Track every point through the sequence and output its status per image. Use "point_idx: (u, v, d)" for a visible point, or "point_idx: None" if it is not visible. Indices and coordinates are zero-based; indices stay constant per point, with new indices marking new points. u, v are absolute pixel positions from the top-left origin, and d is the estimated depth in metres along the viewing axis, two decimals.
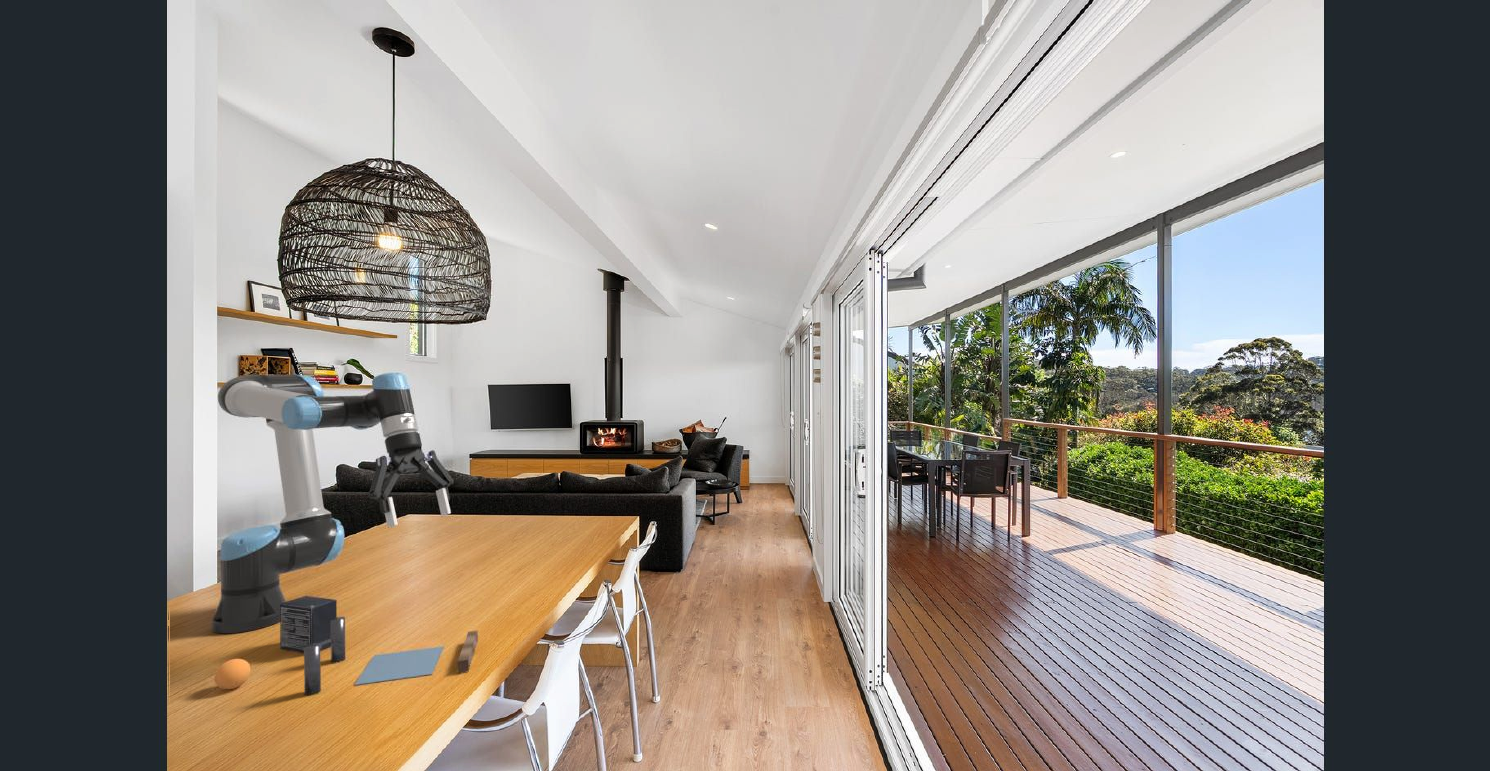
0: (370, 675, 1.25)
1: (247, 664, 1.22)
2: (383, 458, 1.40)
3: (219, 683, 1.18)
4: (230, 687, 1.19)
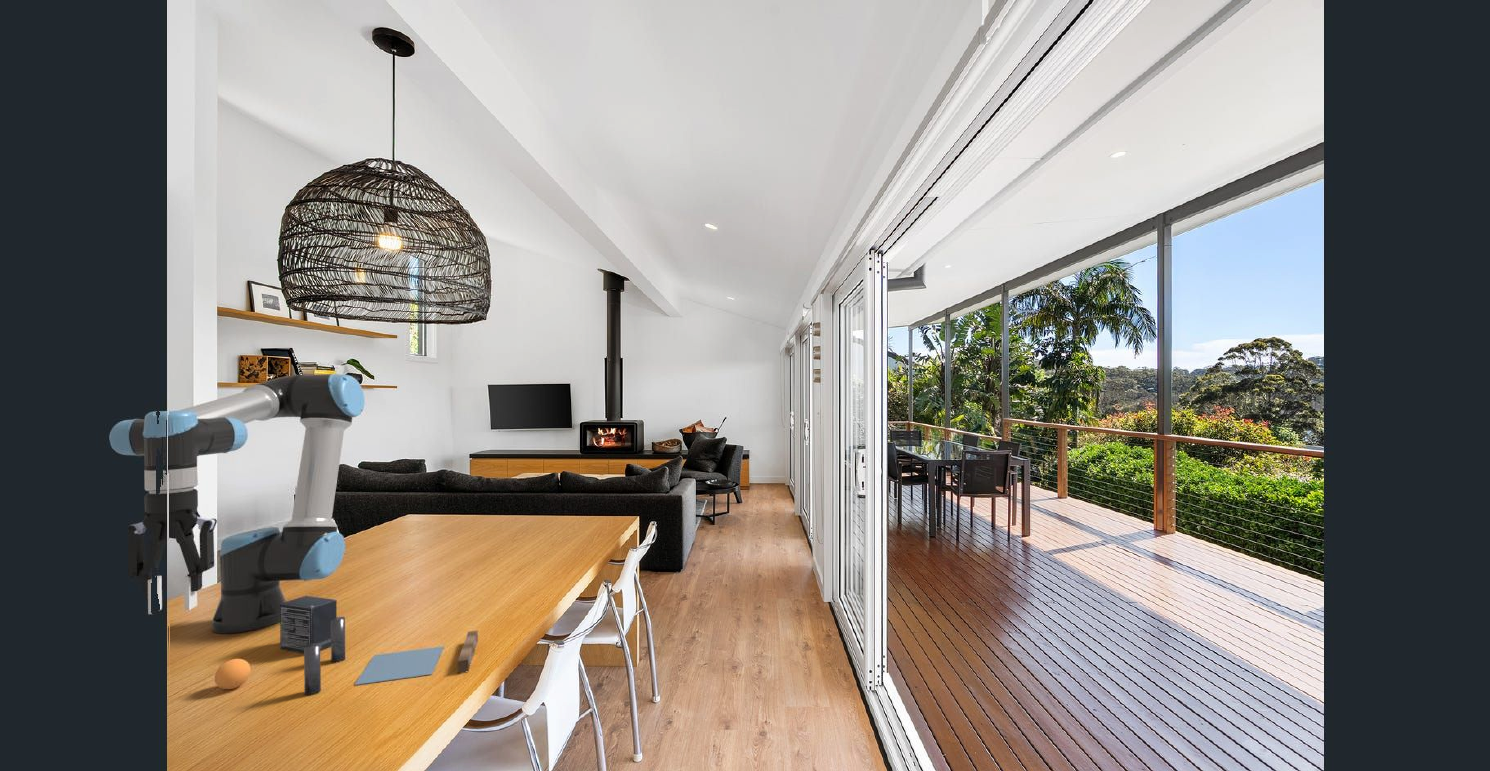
0: (370, 675, 1.25)
1: (247, 664, 1.22)
2: (127, 530, 1.15)
3: (219, 683, 1.18)
4: (230, 687, 1.19)
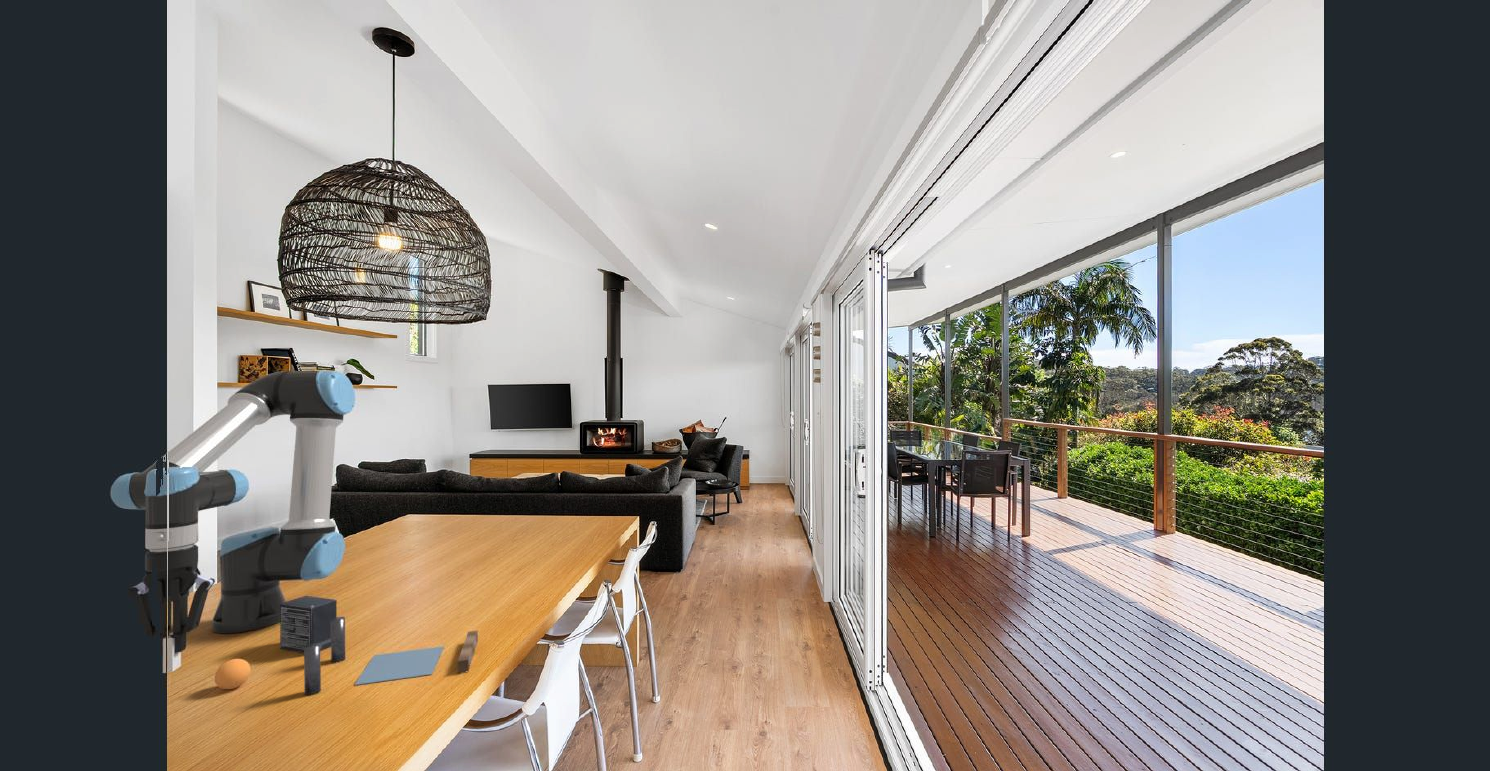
0: (370, 675, 1.25)
1: (247, 664, 1.22)
2: (130, 592, 1.15)
3: (219, 683, 1.18)
4: (230, 687, 1.19)
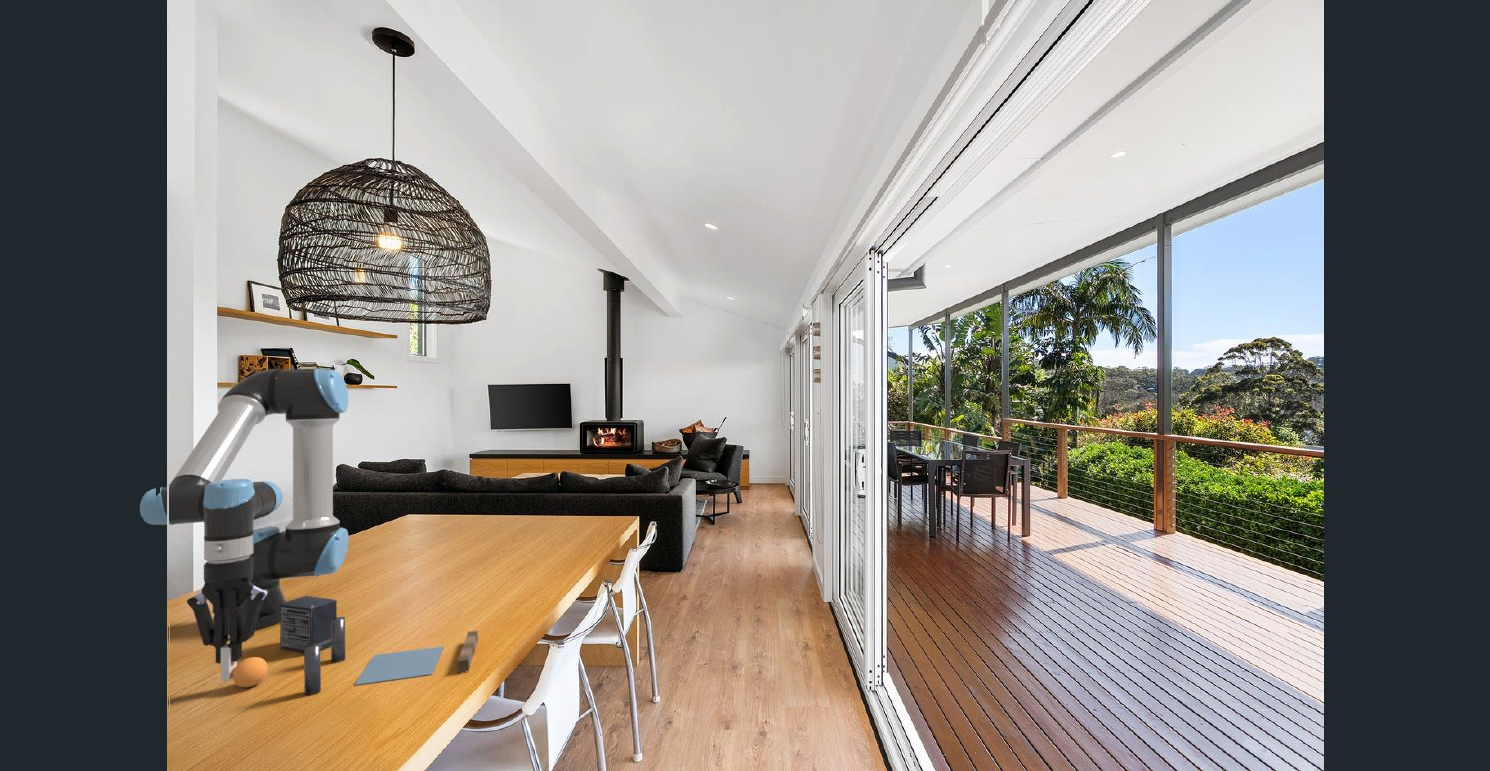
0: (370, 675, 1.25)
1: (267, 670, 1.22)
2: (189, 602, 1.17)
3: (236, 677, 1.19)
4: (240, 686, 1.19)
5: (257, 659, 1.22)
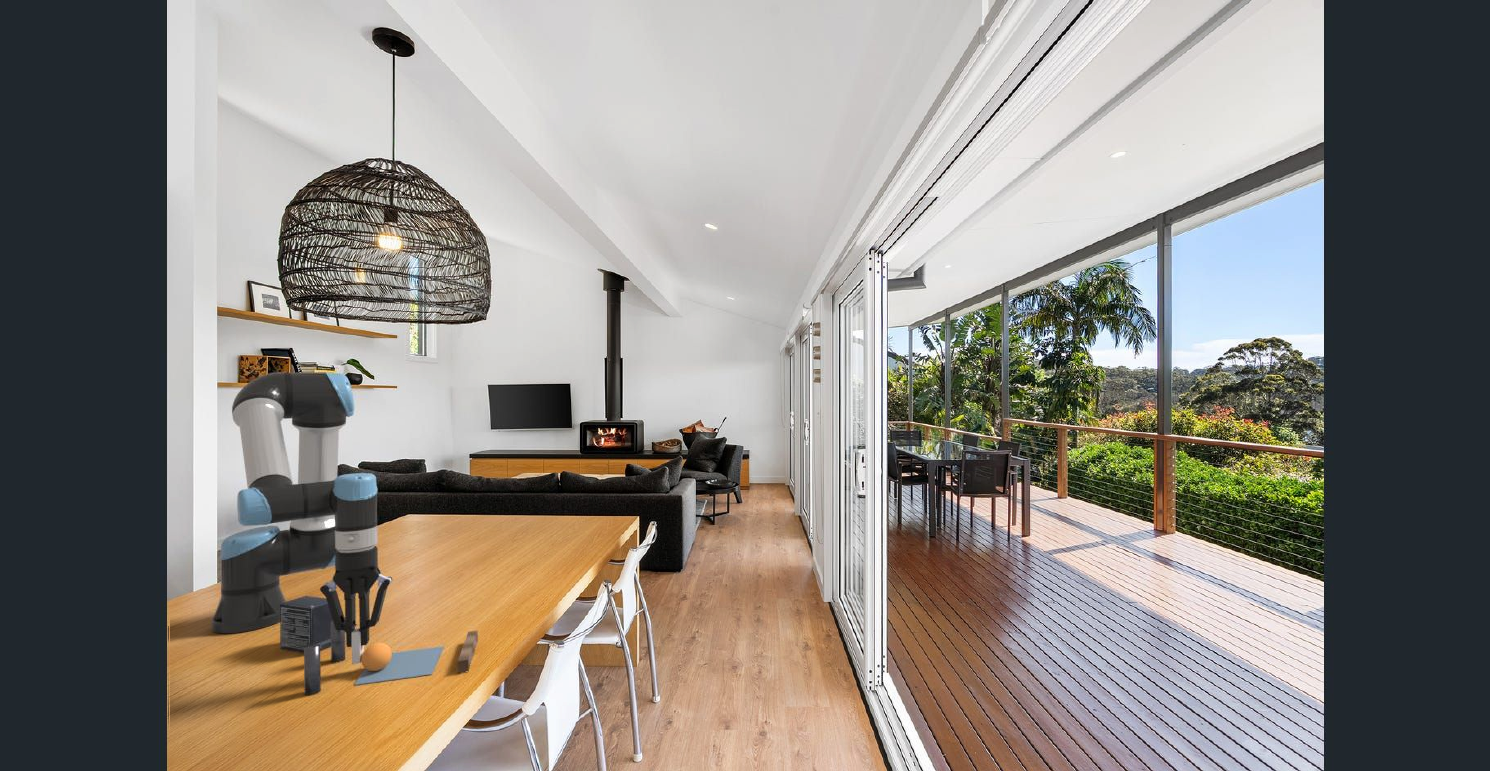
0: (370, 675, 1.25)
1: None
2: (322, 590, 1.24)
3: (366, 663, 1.25)
4: (373, 670, 1.26)
5: (378, 643, 1.28)
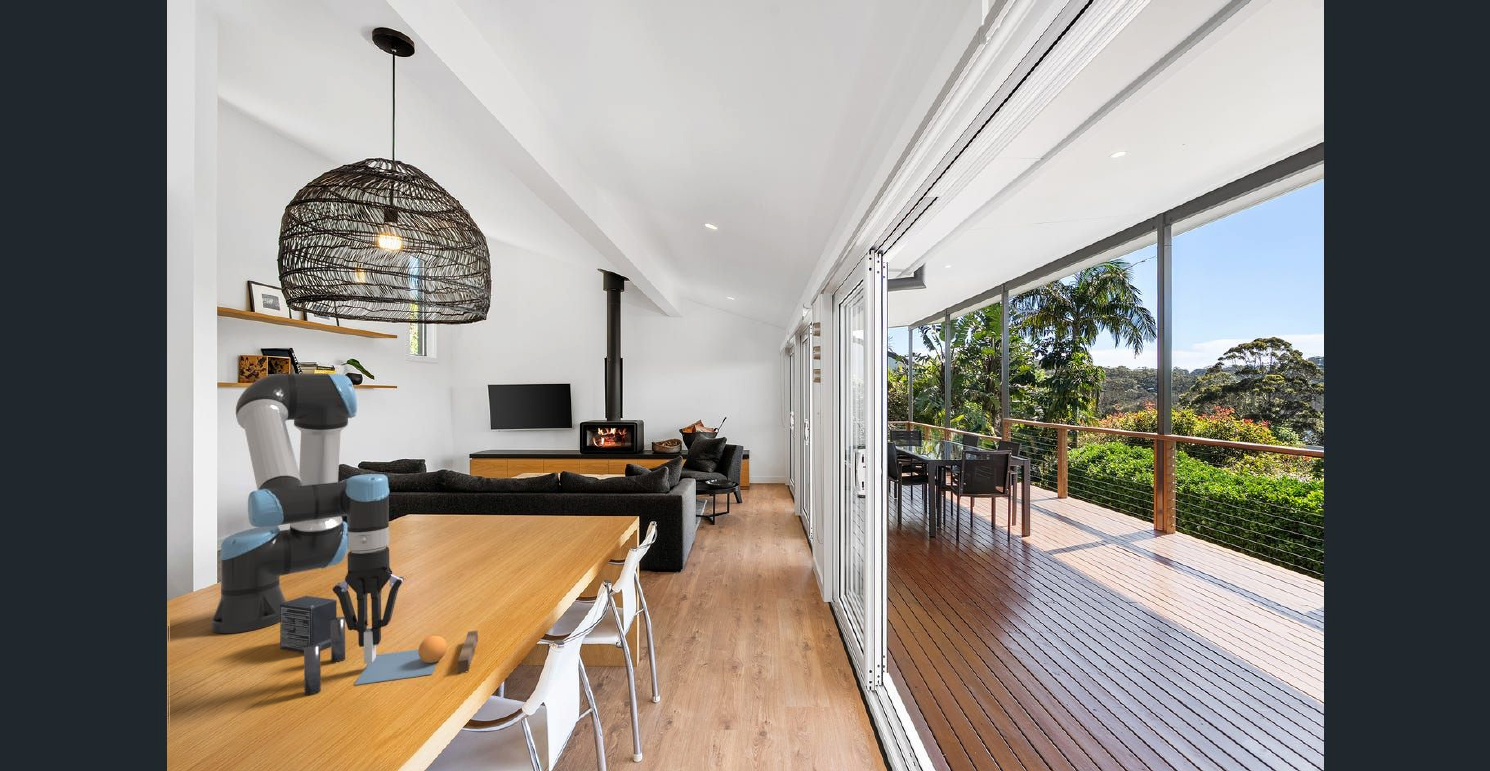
0: (370, 675, 1.25)
1: (421, 643, 1.31)
2: (335, 590, 1.25)
3: (436, 656, 1.29)
4: (438, 645, 1.29)
5: None
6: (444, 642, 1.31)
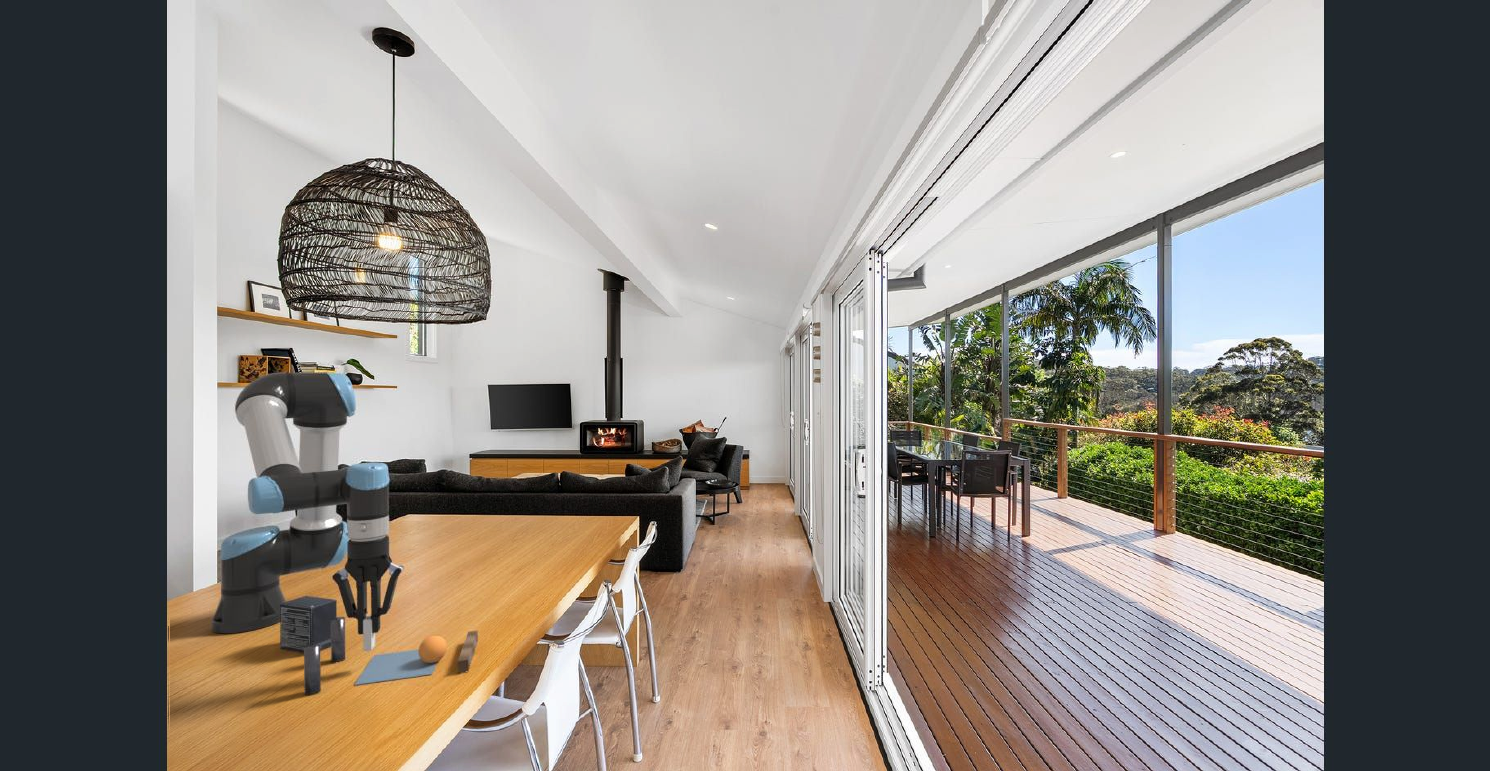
0: (370, 675, 1.25)
1: (421, 643, 1.31)
2: (334, 578, 1.25)
3: (436, 656, 1.29)
4: (438, 645, 1.29)
5: None
6: (444, 642, 1.31)
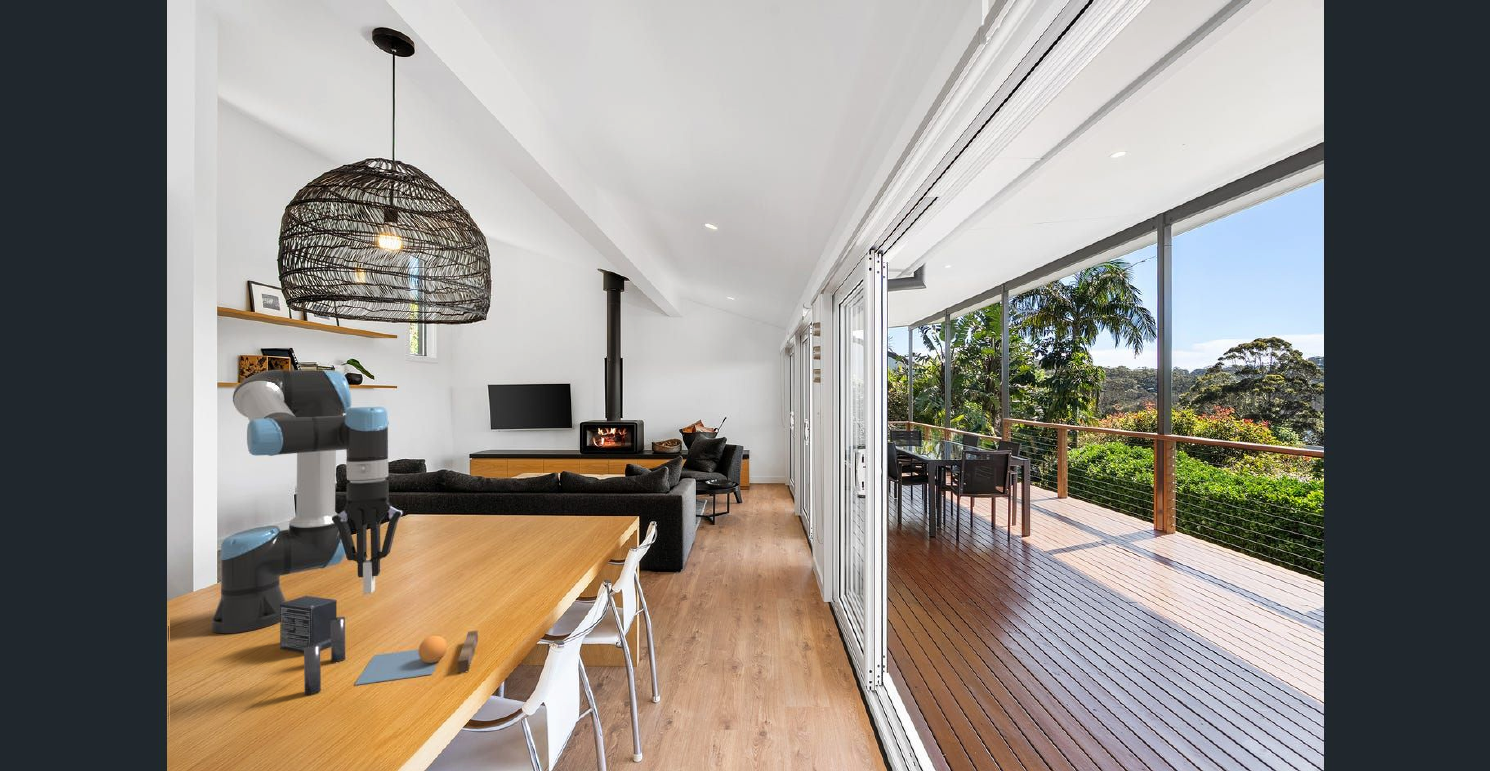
0: (370, 675, 1.25)
1: (421, 643, 1.31)
2: (334, 520, 1.25)
3: (436, 656, 1.29)
4: (438, 645, 1.29)
5: None
6: (444, 642, 1.31)
